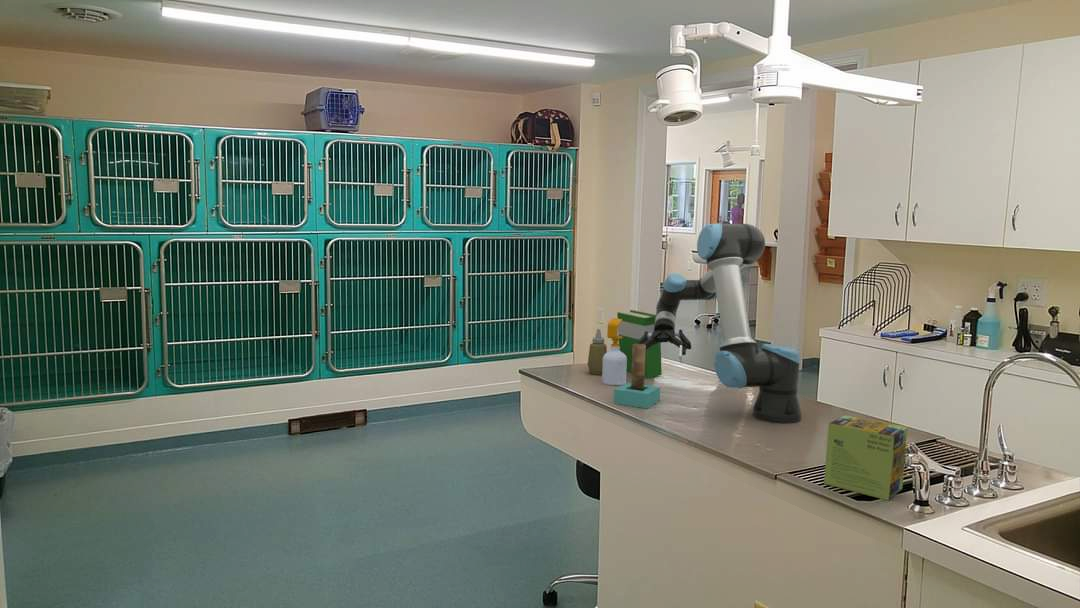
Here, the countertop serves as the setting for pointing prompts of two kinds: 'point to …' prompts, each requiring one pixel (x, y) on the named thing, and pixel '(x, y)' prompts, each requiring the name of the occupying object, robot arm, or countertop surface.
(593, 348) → the squeeze bottle
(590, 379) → the countertop surface
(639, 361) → the dowel
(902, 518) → the countertop surface
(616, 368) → the soap bottle
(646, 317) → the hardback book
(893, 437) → the protein box
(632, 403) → the socket
